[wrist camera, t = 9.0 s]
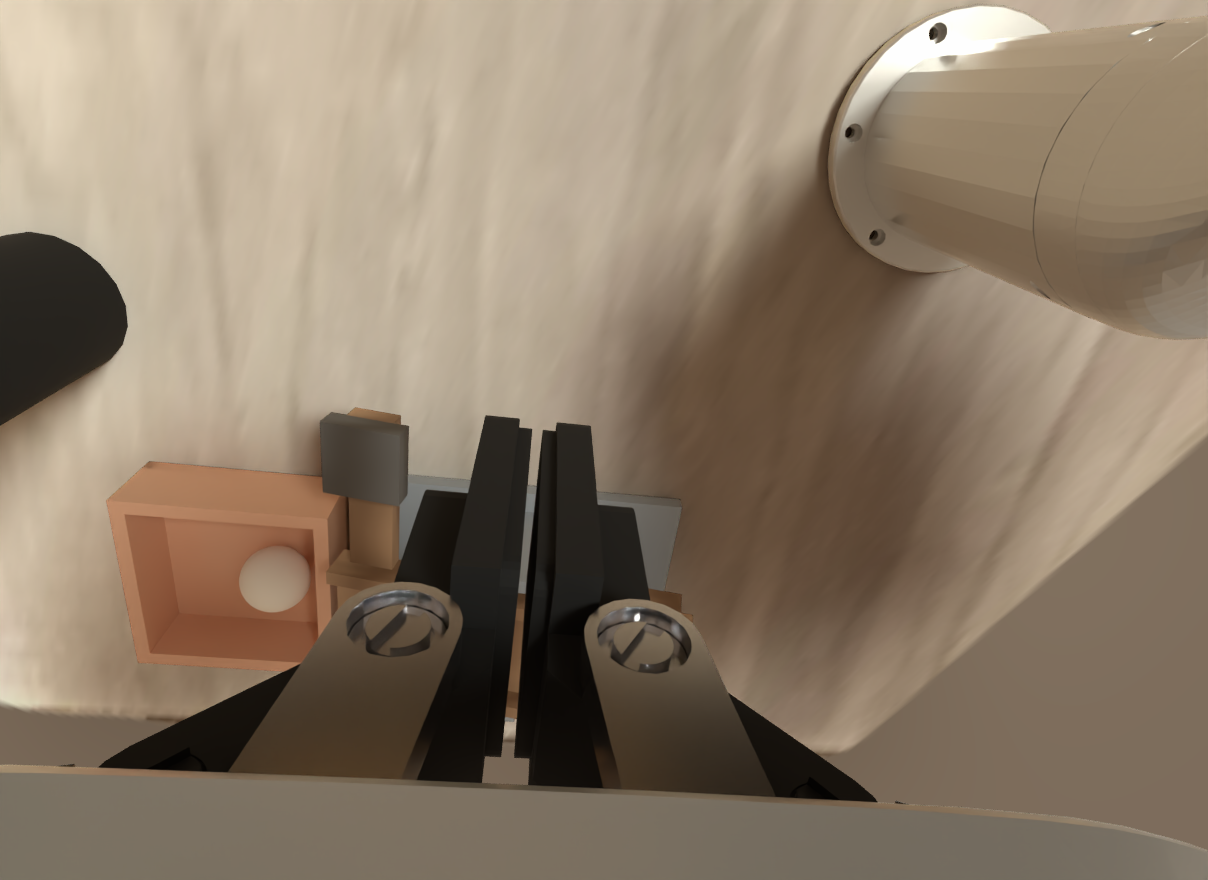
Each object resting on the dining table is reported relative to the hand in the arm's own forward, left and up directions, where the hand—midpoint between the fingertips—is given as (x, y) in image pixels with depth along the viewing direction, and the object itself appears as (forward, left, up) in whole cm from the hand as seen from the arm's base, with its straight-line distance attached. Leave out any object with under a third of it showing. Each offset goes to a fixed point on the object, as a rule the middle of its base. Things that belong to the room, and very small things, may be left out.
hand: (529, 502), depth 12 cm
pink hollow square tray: (+16, +23, -29) cm, 41 cm away
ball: (+14, +23, -26) cm, 38 cm away
